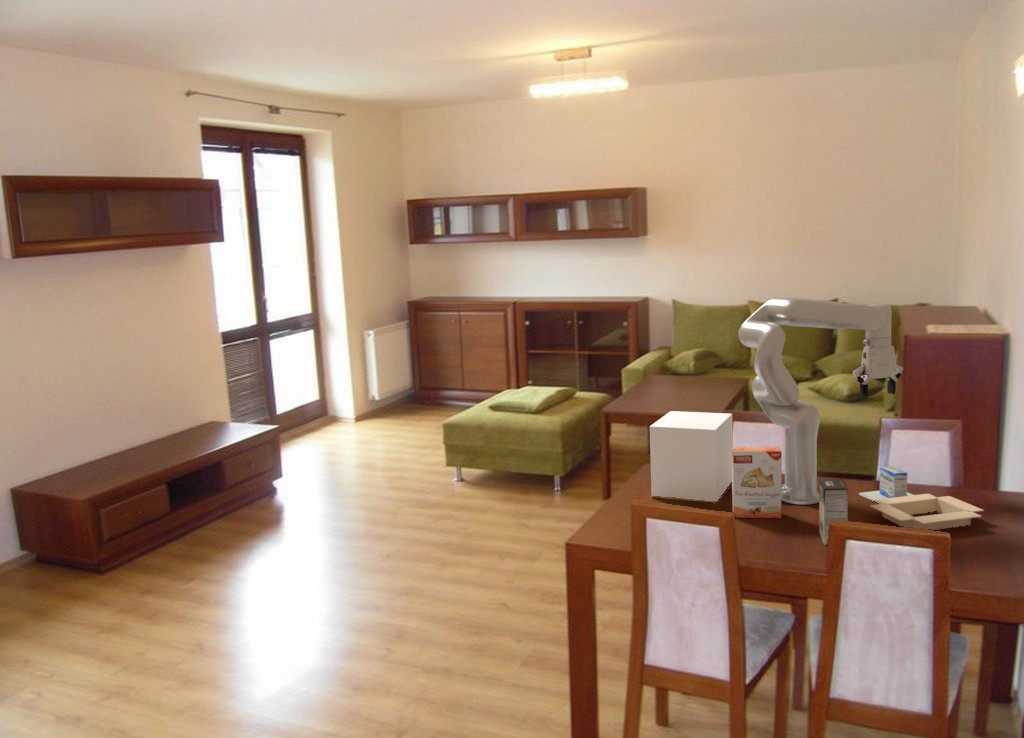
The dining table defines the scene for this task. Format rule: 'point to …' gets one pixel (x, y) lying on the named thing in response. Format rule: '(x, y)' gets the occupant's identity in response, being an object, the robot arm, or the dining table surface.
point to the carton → (949, 507)
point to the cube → (691, 455)
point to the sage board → (875, 495)
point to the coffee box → (831, 504)
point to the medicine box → (893, 482)
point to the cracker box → (756, 482)
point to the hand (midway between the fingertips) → (877, 394)
